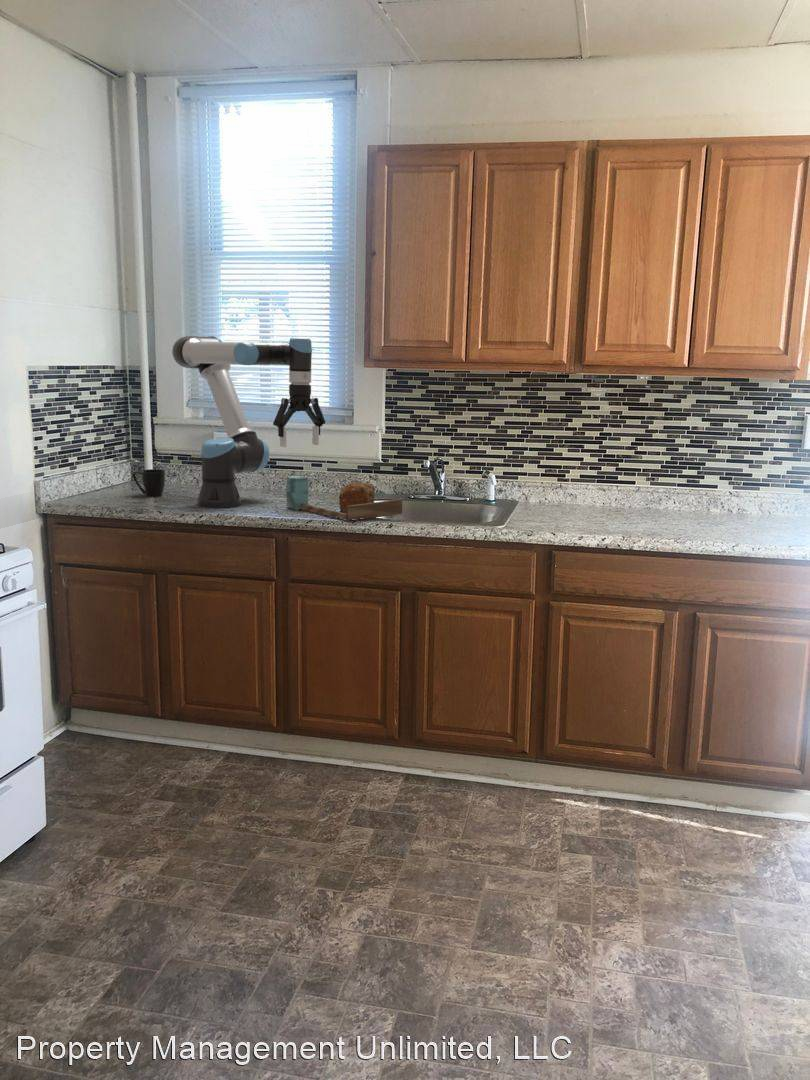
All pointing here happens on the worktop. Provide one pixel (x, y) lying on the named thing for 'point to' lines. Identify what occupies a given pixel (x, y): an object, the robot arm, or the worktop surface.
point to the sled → (299, 500)
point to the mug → (152, 482)
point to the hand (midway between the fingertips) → (299, 445)
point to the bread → (356, 495)
